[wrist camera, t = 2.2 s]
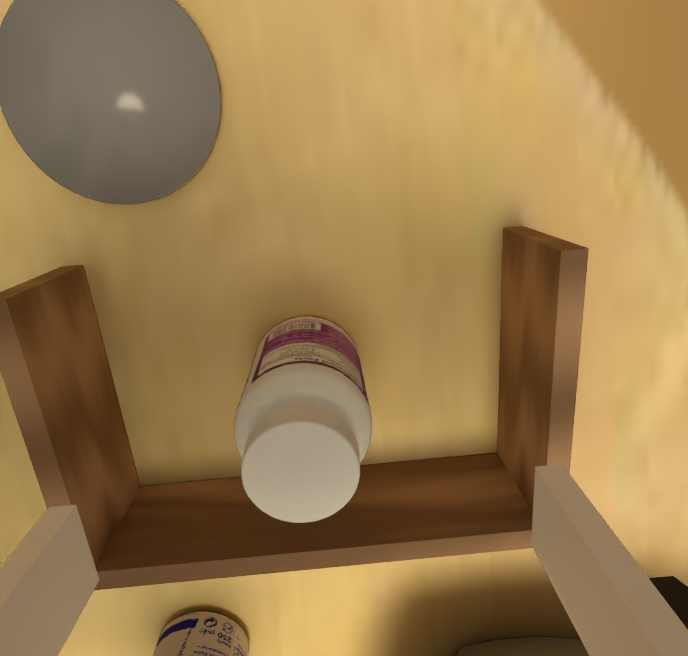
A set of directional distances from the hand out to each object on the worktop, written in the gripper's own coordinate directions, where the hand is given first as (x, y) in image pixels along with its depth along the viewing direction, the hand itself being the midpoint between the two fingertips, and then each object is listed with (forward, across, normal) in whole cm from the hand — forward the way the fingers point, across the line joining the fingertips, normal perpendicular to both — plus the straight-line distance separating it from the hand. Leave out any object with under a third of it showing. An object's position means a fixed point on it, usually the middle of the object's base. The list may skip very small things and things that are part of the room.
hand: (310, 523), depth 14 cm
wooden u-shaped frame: (+12, -1, 0) cm, 12 cm away
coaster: (+12, -8, +13) cm, 19 cm away
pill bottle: (+12, -1, 0) cm, 12 cm away
